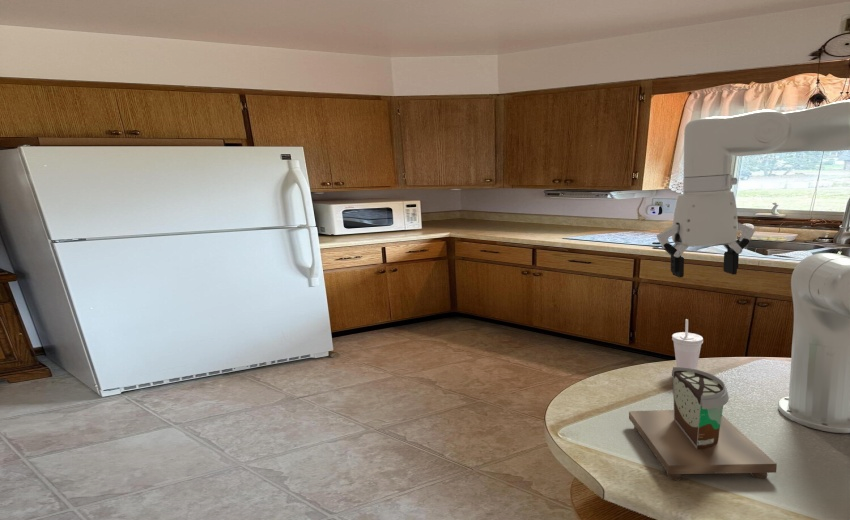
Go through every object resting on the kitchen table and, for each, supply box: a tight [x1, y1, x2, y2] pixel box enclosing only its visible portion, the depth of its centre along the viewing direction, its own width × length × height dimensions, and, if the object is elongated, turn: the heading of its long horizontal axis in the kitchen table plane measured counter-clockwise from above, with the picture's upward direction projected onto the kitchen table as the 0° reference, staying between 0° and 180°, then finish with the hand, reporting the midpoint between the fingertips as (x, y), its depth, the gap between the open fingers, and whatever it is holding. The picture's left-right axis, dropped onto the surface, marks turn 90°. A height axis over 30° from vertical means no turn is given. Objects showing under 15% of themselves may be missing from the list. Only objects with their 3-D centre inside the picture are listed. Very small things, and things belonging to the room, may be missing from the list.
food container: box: [671, 366, 730, 449], centre depth 77 cm, size 12×6×10 cm, turn 172°
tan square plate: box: [628, 409, 778, 481], centre depth 78 cm, size 16×17×3 cm
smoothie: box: [671, 318, 704, 370], centre depth 105 cm, size 6×6×14 cm
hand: (703, 274), depth 87 cm, fingers open, 9 cm apart
